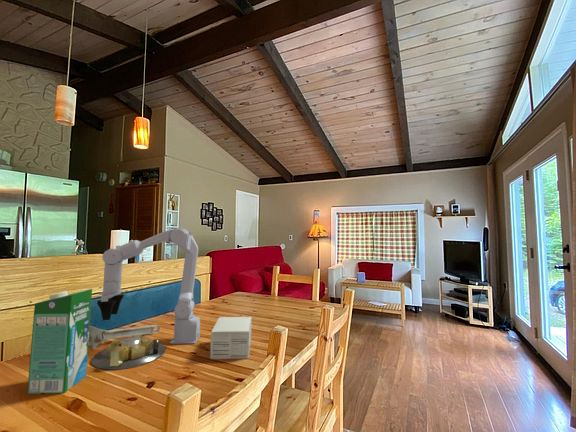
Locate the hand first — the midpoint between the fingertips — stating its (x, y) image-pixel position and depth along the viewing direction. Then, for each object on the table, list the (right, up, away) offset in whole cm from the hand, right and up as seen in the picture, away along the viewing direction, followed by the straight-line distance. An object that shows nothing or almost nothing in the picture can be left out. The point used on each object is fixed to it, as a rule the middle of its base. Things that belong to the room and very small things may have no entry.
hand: (110, 316), depth 105 cm
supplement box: (+47, -11, -3) cm, 48 cm away
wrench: (+3, -11, +3) cm, 11 cm away
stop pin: (+22, -10, -10) cm, 26 cm away
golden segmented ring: (+13, -8, -12) cm, 20 cm away
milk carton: (+5, -8, -29) cm, 31 cm away
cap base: (+13, -9, -10) cm, 19 cm away
